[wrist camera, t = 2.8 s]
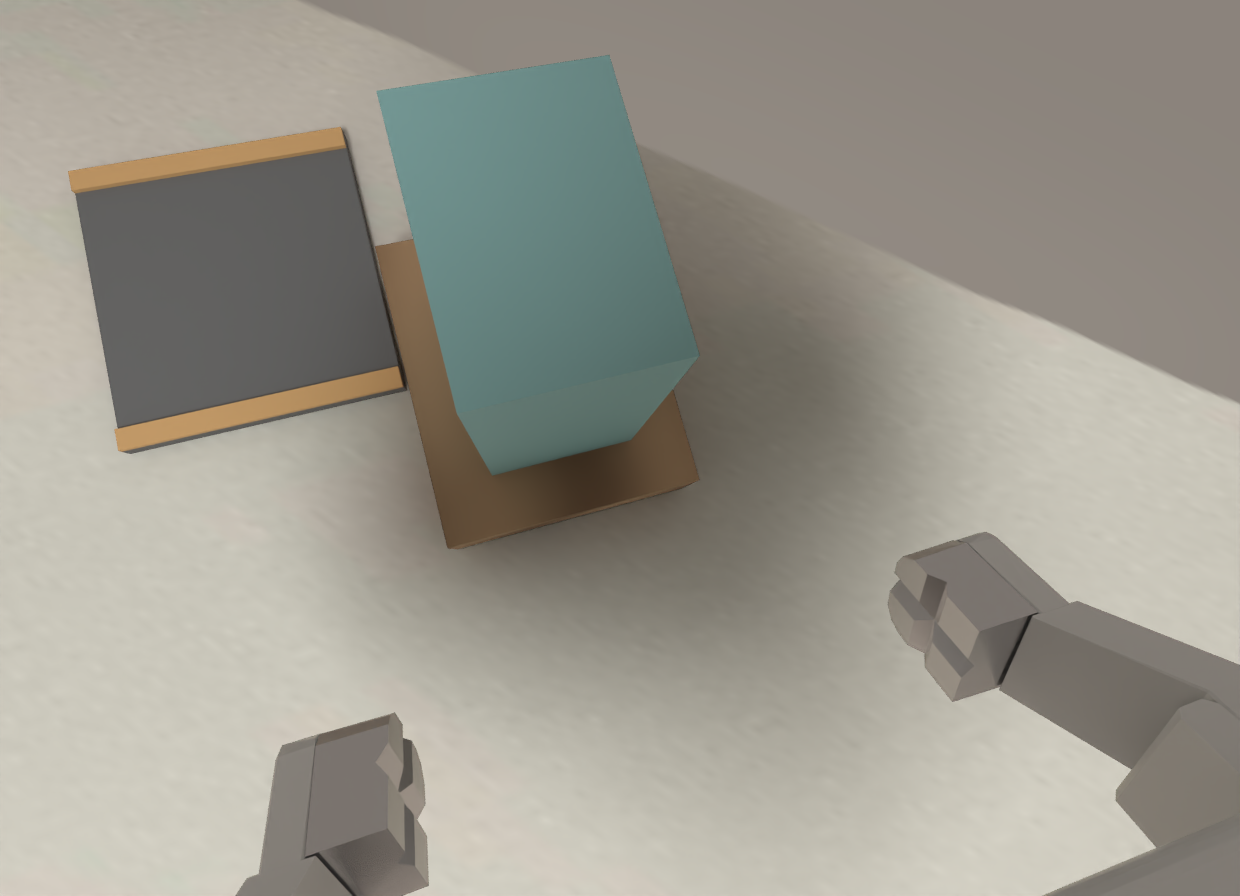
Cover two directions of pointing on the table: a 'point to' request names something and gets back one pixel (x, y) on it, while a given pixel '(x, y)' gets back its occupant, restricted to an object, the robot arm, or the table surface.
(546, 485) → the block
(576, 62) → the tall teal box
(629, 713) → the table surface
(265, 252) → the mat
